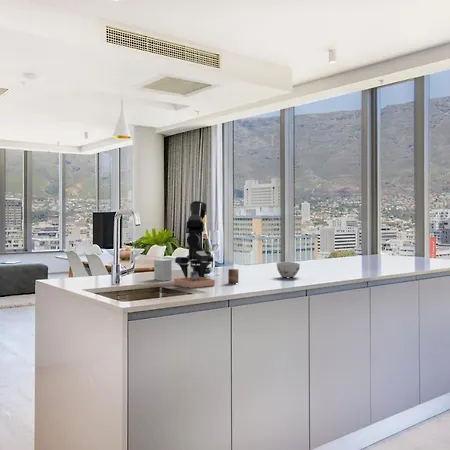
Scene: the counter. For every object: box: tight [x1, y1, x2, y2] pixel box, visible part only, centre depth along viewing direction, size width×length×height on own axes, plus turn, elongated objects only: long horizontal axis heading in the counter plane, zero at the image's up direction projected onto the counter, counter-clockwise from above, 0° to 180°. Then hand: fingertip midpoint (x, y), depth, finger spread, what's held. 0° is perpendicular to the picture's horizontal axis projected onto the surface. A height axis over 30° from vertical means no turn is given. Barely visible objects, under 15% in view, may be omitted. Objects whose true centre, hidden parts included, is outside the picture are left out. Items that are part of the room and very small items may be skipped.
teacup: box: [276, 261, 301, 278], centre depth 282 cm, size 15×12×8 cm
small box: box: [153, 258, 173, 282], centre depth 268 cm, size 8×6×10 cm
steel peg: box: [189, 270, 199, 282], centre depth 248 cm, size 4×4×6 cm
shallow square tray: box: [173, 276, 216, 289], centre depth 249 cm, size 14×14×3 cm
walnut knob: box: [227, 268, 239, 285], centre depth 257 cm, size 5×5×7 cm
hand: (194, 277), depth 248 cm, fingers open, 9 cm apart
